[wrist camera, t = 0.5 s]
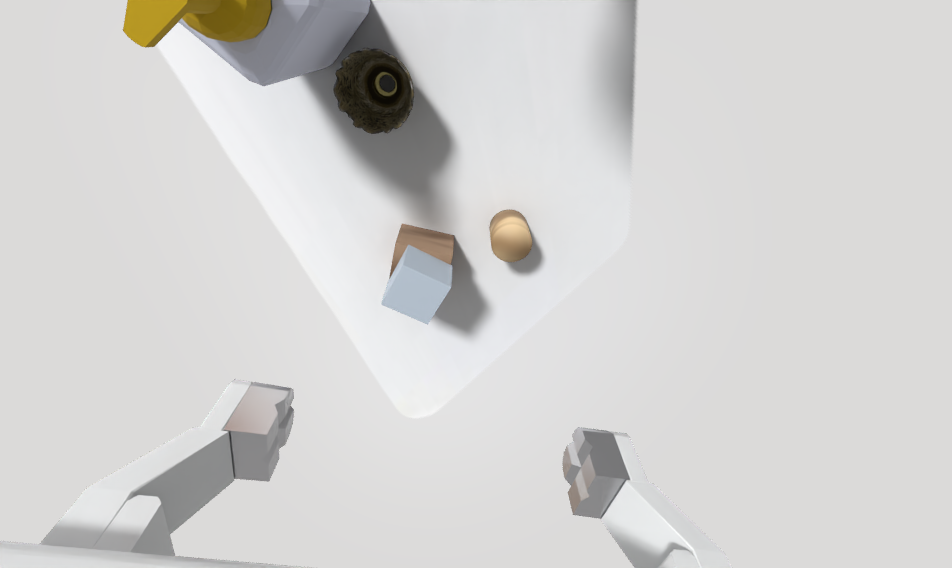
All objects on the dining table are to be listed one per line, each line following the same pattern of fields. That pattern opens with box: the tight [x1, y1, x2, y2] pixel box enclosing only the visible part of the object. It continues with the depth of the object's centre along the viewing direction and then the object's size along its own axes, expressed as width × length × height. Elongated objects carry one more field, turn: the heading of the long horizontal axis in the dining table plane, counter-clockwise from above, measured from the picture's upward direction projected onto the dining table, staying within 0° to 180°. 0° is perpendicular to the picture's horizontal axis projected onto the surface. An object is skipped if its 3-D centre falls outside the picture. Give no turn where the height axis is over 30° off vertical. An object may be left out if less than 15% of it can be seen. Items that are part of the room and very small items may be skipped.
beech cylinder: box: [490, 210, 532, 262], centre depth 54 cm, size 5×5×5 cm
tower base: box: [389, 224, 454, 279], centre depth 55 cm, size 7×7×6 cm
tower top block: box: [381, 245, 453, 324], centre depth 50 cm, size 6×6×5 cm
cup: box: [334, 48, 414, 134], centre depth 43 cm, size 8×7×8 cm
